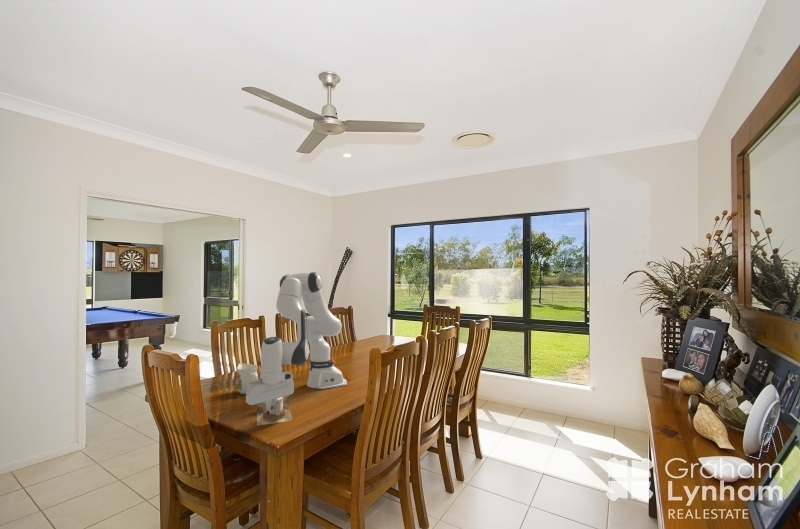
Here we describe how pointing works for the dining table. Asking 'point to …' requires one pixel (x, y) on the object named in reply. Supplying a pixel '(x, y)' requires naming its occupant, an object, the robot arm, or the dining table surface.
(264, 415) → the stand
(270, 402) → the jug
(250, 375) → the pitcher
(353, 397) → the dining table surface
